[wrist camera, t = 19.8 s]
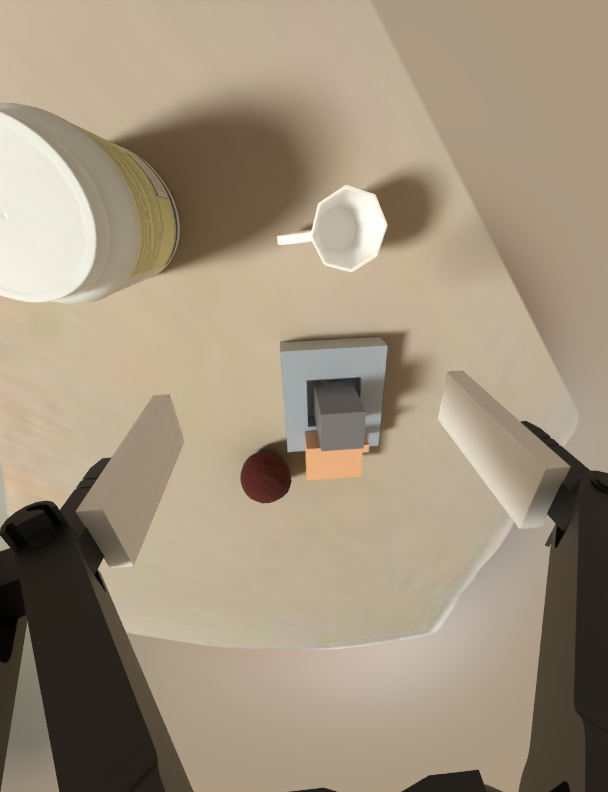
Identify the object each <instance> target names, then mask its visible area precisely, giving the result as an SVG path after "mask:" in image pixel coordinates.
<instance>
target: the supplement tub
mask: <svg viewBox="0 0 608 792" xmlns="http://www.w3.org/2000/svg"><path fill="white" fill-rule="evenodd" d="M179 235H180V222H179V216H178V212H177V208H176V205H175V202H174V200H173V197H172V195H171V193H170V191H169V189H168V188H167V186H166V185H165V183H164V181H163V180H162V179H161V177H160V176H159V175H158V173H157V172H156V171H155V170H154V169H153V168H152V167H151V166H150V165H149V164H148V163H147V162H146V161H145V160H143V159H142V158H141V157H139V156H138V155H136V154H135V153H133V152H131V151H129V150H127V149H125V148H123V147H120V146H118V145H116V144H114V143H112V142H110V141H107V140H105V139H103V138H101V137H99V136H97V135H95V134H93V133H91V132H89V131H86V130H84V129H82V128H80V127H78V126H76V125H74V124H72V123H70V122H68V121H66V120H65V119H63V118H61V117H59V116H57V115H55V114H53V113H50V112H48V111H45V110H42V109H39V108H36V107H31V106H26V105H21V104H13V103H0V295H2V296H4V297H8V298H11V299H15V300H20V301H26V302H46V301H53V302H59V303H70V304H74V303H86V302H93V301H97V300H100V299H103V298H105V297H107V296H109V295H111V294H113V293H115V292H117V291H120V290H122V289H124V288H127V287H129V286H131V285H134V284H136V283H138V282H141V281H143V280H145V279H148V278H151V277H153V276H155V275H157V274H158V273H160V272H161V271H162V270H163V269H164V268H165V267H166V266H167V265H168V264H169V263H170V261H171V260H172V258H173V256H174V254H175V251H176V249H177V246H178V242H179Z"/></svg>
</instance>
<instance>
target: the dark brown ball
mask: <svg viewBox="0 0 608 792" xmlns="http://www.w3.org/2000/svg"><path fill="white" fill-rule="evenodd" d="M241 484H242V487H243V490H244V491H245V493H246V494H247V495H248V496H249V497H250V498H251V499H253V500H255V501H257V502H260V503H271V502H274V501H276V500H278V499H280V498H282V497H283V496H284V495H285V494H286V493H287V492H288V490H289V488H290V485H291V476H290V472H289V468H288V466H287V465H286V464H285V462H284V461H283V459H282V458H280V457H279V456H277V455H275V454H273V453H270V452H258V453H255V454H253V455H252V456H250V457H249V458H248V459H247V460H246V462H245V463H244V465H243V468H242V471H241Z"/></svg>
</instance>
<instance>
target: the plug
mask: <svg viewBox="0 0 608 792" xmlns="http://www.w3.org/2000/svg"><path fill="white" fill-rule="evenodd" d="M314 416H315V422H316V427H317V432H318V438H319V443H320V448H321V451H333V450H347V449H361V448H364V435H365V420H366V411H365V408H364V406H363V404H362V402H361V400H360V398H359V396H358V393H357V391H356V389H355V387H354V385H353V383H352V381H335V382H328V381H327V380H320V381H319V382H318V383H314Z"/></svg>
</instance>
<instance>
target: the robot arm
mask: <svg viewBox="0 0 608 792" xmlns="http://www.w3.org/2000/svg"><path fill="white" fill-rule="evenodd" d="M438 420H439V421H440V423H441V424H442V425H443V427H444V428H445V429H446V431H447V432H448V433H449V435H450V436H451V437H452V439H453V440H454V441H455V443H456V444H457V445H458V447H459V448H460V450H461V451H462V452H463V454H464V455H465V456H466V458H467V459H468V460H469V462H470V463H471V464H472V466H473V467H474V468H475V470H476V471H477V472H478V474H479V475H480V476H481V478H482V479H483V480H484V482H485V483H486V484H487V486H488V487H489V488H490V490H491V491H492V492H493V494H494V495H495V496H496V498H497V499H498V500H499V502H500V503H501V504H502V506H503V507H504V508H505V510H506V511H507V512H508V514H509V515H510V516H511V518H512V519H513V520H514V522H515V523H516V524H517V526H518V527H519V528H520V529H524V528H535V527H542V525H543V523H544V521H545V519H546V516H547V515H549V517H550V518H551V519H552V520H553V521H554V522H555V523H556V525H555V527H554V529H553V531H552V532H551V534H550V536H549V538H548V540H547V542H546V544H545V545H546V546H548V547H549V546H550V544H551V548H550V557H549V568H548V577H547V586H546V596H545V606H544V616H543V625H542V635H541V644H540V655H539V664H538V673H537V683H536V693H535V702H534V712H533V722H532V731H531V741H530V749H529V755H528V759H527V762H526V765H525V768H524V770H523V773H522V778H521V782H520V787H519V792H608V473H604V472H600V471H590V470H589V469H588V468H586V467H585V466H584V465H583V464H582V463H581V462H580V461H578V460H577V459H576V458H575V457H574V456H572V455H571V454H570V453H569V452H568V451H567V450H565V449H564V448H563V447H562V446H559V444H558V443H557V442H556V441H555V440H554V439H551V438H550V436H549V435H548V434H546V433H545V432H544V431H543V430H542V429H541V428H539V427H537V426H535V425H533V424H531V423H529V422H527V421H521V422H520V421H519V420H518V419H516V418H515V417H514V416H513V415H512V414H511V413H510V412H509V411H507V410H506V409H505V408H504V407H503V406H502V405H501V404H500V403H498V402H497V401H496V400H495V399H494V398H493V397H492V396H491V395H489V394H488V393H487V392H486V391H485V390H484V389H483V388H482V387H481V386H479V385H478V384H477V383H476V382H475V381H474V380H473V379H472V378H470V377H469V376H468V375H467V374H466V373H465V372H464V371H452V372H447V374H446V379H445V385H444V390H443V396H442V401H441V406H440V412H439V417H438ZM183 443H184V438H183V435H182V432H181V429H180V425H179V422H178V419H177V416H176V413H175V409H174V406H173V403H172V400H171V397H170V394H169V395H157V396H153V397H152V398H151V400H150V401H149V403H148V404H147V406H146V407H145V409H144V410H143V412H142V413H141V415H140V416H139V418H138V419H137V421H136V422H135V424H134V425H133V427H132V428H131V430H130V431H129V433H128V434H127V436H126V437H125V439H124V440H123V442H122V443H121V445H120V446H119V448H118V449H117V451H116V452H115V454H114V455H113V457H112V458H102V459H101V460H100V461H99V462H97V463H96V464H95V465H94V466H92V467H91V468H90V469H89V471H88V472H87V473H86V475H85V476H84V478H83V481H81V482H80V483H79V484H78V486H77V487H76V490H74V491H73V493H72V494H71V495H70V497H69V498H68V500H67V501H66V502H65V504H64V505H63V506H62V508H61V509H60V510H59V509H58V507H57V506H56V505H55V504H54V503H53V502H51V501H41V502H36V503H33V504H30V505H28V506H25V507H24V508H22V509H20V510H19V511H17V512H15V513H14V514H13V515H12V516H10V517H9V518H8V519H7V520H6V521H5V522H4V524H3V525H2V527H1V529H0V536H1V537H2V538H3V539H4V541H5V542H6V543H7V544H8V545H9V547H10V548H9V549H6V550H3V551H0V791H1V784H2V778H3V772H4V765H5V759H6V753H7V746H8V740H9V733H10V727H11V721H12V714H13V708H14V702H15V695H16V689H17V682H18V676H19V670H20V663H21V657H22V651H23V644H24V638H25V632H26V625H27V620H28V626H29V631H30V636H31V641H32V647H33V652H34V658H35V663H36V669H37V674H38V679H39V685H40V690H41V695H42V700H43V706H44V711H45V717H46V722H47V727H48V733H49V738H50V743H51V749H52V754H53V760H54V765H55V770H56V776H57V781H58V787H59V792H194V791H193V790H192V787H191V785H190V783H189V780H188V778H187V775H186V773H185V771H184V769H183V767H182V764H181V761H180V759H179V757H178V754H177V752H176V750H175V747H174V745H173V742H172V740H171V738H170V735H169V733H168V731H167V728H166V726H165V724H164V722H163V719H162V717H161V714H160V712H159V710H158V707H157V705H156V702H155V700H154V698H153V695H152V693H151V691H150V688H149V686H148V684H147V681H146V679H145V677H144V674H143V672H142V669H141V667H140V665H139V663H138V660H137V658H136V655H135V653H134V651H133V649H132V646H131V644H130V641H129V639H128V636H127V634H126V632H125V629H124V627H123V625H122V622H121V620H120V618H119V615H118V613H117V611H116V608H115V606H114V604H113V601H112V599H111V596H110V594H109V592H108V589H107V587H106V585H105V582H104V580H103V578H102V575H101V573H100V572H99V570H98V568H99V566H100V564H101V562H102V560H103V558H104V559H105V561H106V562H107V564H108V565H109V567H110V568H116V567H126V566H134V563H135V561H136V558H137V556H138V553H139V551H140V549H141V546H142V544H143V541H144V539H145V536H146V534H147V531H148V529H149V526H150V524H151V522H152V519H153V517H154V514H155V512H156V509H157V507H158V504H159V502H160V500H161V497H162V495H163V492H164V490H165V487H166V485H167V482H168V480H169V478H170V475H171V473H172V470H173V468H174V465H175V463H176V460H177V458H178V455H179V453H180V451H181V448H182V446H183ZM291 792H336V791H332V790H329V789H326V788H318V789H309V790H300V791H291ZM402 792H502V791H500V790H498V789H496V788H493V787H491V786H489V785H485V784H484V783H483V780H482V778H481V775H480V772H479V770H473V771H464V772H456V773H447V774H438V775H429V776H427V777H426V778H424V779H422V780H421V781H419V782H417V783H416V784H414V785H412V786H410V787H409V788H407V789H405V790H404V791H402Z"/></svg>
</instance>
